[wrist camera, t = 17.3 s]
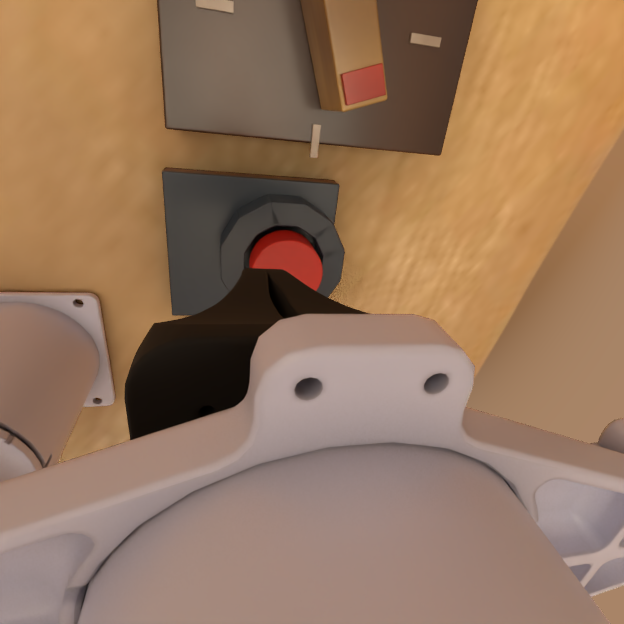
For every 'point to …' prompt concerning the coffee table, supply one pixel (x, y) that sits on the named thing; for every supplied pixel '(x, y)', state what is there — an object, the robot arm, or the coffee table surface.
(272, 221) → the button block
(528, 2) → the coffee table surface
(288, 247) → the button
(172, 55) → the dial panel
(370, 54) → the red label carton
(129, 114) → the coffee table surface
